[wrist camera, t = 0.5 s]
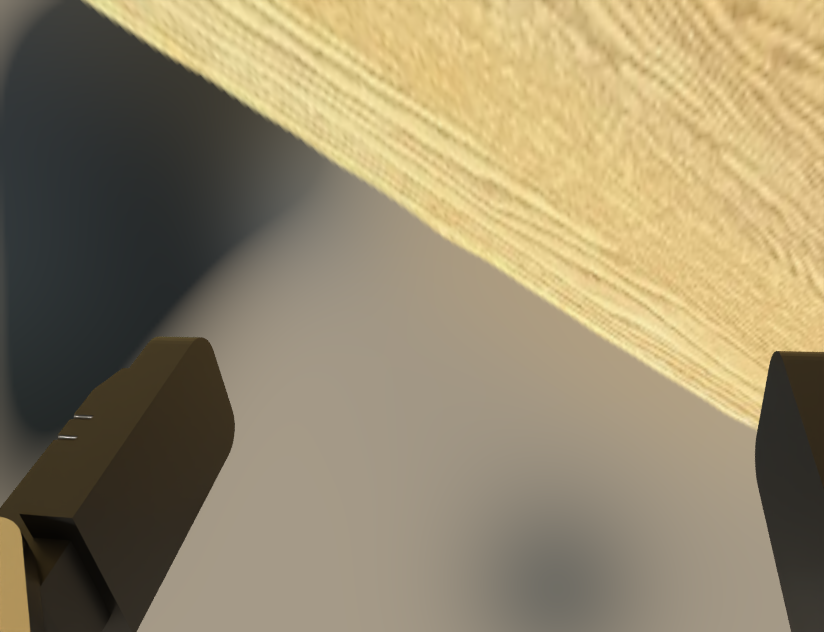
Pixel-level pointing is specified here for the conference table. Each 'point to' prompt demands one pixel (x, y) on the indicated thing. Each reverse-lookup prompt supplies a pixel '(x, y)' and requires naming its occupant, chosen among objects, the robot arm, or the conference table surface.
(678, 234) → the conference table surface
